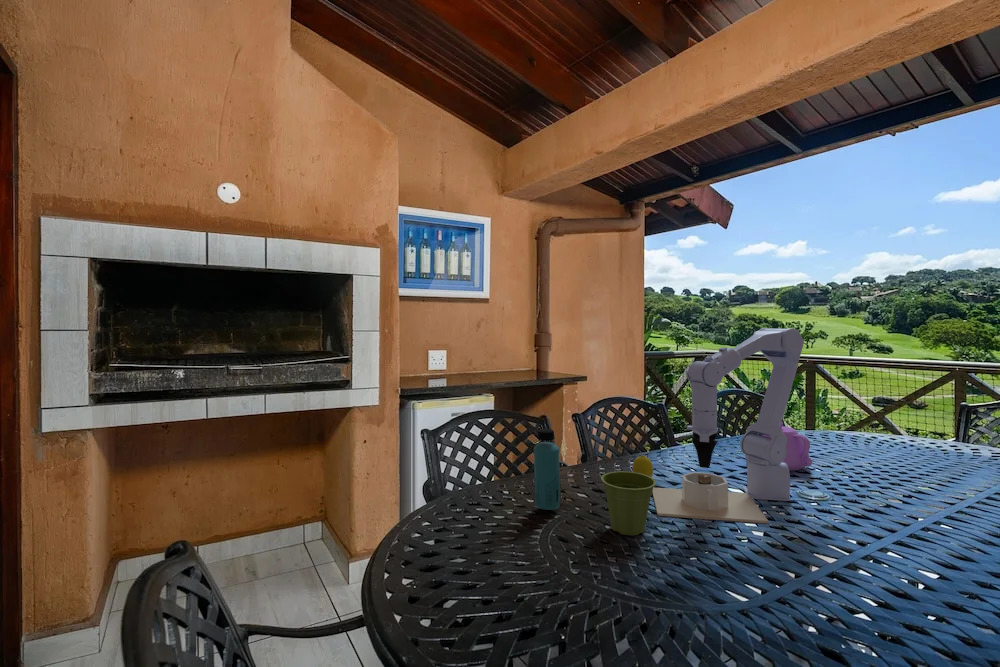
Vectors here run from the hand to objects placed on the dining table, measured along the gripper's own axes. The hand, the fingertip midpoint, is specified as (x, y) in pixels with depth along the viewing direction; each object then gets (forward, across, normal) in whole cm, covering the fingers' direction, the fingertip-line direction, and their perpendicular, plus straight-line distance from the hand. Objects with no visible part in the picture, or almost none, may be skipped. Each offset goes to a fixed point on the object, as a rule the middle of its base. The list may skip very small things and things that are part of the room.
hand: (704, 464), depth 122 cm
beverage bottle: (+10, +18, -36) cm, 41 cm away
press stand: (+10, 0, 0) cm, 10 cm away
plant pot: (+10, +21, -16) cm, 28 cm away
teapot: (+11, -41, +19) cm, 46 cm away
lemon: (+10, -11, -16) cm, 22 cm away
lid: (+9, 0, 0) cm, 9 cm away
